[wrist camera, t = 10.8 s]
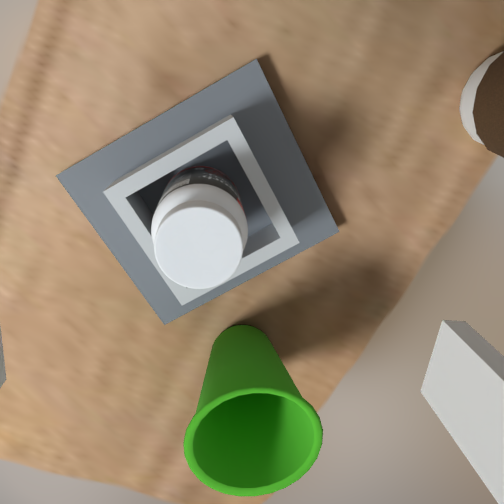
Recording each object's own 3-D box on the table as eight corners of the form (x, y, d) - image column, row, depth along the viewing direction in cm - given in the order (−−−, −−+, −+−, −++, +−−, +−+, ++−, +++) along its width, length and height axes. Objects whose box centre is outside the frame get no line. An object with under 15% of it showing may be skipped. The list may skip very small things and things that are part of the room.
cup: (309, 325, 37) (349, 413, 27) (263, 402, 40) (282, 510, 29) (216, 287, 35) (221, 368, 25) (173, 372, 37) (161, 477, 27)
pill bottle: (255, 204, 32) (276, 251, 22) (201, 253, 33) (200, 318, 23) (201, 147, 30) (199, 173, 21) (145, 201, 31) (120, 250, 22)
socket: (254, 59, 29) (263, 54, 25) (335, 227, 34) (353, 246, 30) (60, 173, 30) (37, 186, 26) (165, 318, 35) (160, 349, 31)
